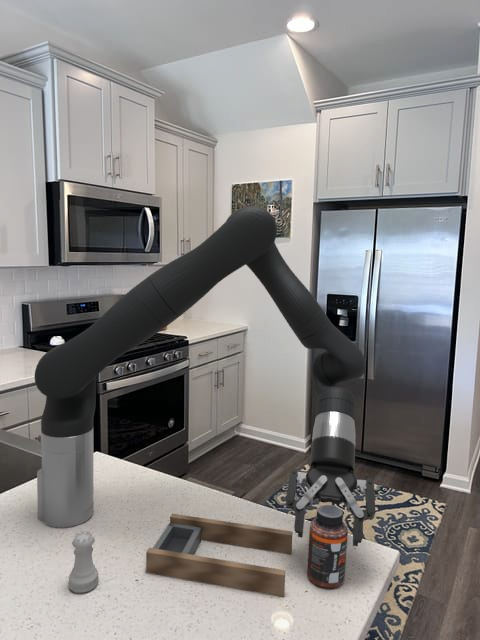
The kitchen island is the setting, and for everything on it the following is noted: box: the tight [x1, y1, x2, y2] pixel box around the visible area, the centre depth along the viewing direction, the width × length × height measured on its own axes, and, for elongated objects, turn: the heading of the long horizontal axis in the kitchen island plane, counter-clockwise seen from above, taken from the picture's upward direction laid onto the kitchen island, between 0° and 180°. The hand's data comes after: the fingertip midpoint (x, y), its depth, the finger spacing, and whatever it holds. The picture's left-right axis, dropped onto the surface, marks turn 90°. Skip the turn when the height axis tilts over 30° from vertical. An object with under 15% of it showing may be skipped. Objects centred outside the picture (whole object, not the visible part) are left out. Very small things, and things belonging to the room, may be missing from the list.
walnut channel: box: [145, 513, 294, 598], centre depth 79 cm, size 22×12×4 cm, turn 78°
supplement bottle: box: [306, 504, 349, 589], centre depth 76 cm, size 6×6×11 cm
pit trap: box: [152, 522, 202, 555], centre depth 81 cm, size 6×9×2 cm, turn 168°
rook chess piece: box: [67, 530, 100, 594], centre depth 72 cm, size 4×4×8 cm
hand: (327, 540), depth 75 cm, fingers open, 8 cm apart
